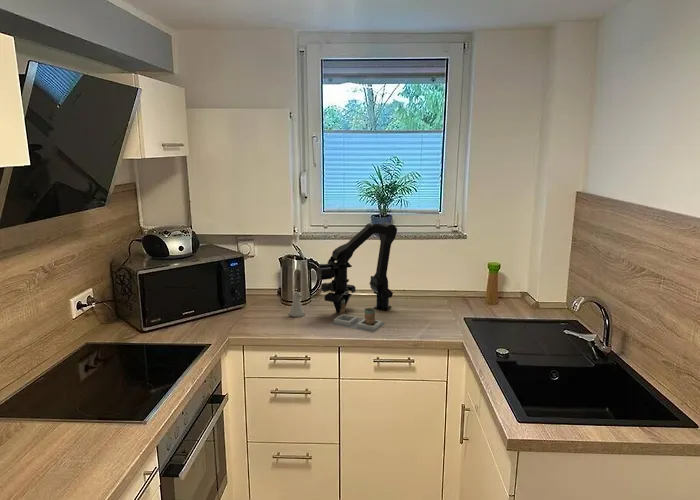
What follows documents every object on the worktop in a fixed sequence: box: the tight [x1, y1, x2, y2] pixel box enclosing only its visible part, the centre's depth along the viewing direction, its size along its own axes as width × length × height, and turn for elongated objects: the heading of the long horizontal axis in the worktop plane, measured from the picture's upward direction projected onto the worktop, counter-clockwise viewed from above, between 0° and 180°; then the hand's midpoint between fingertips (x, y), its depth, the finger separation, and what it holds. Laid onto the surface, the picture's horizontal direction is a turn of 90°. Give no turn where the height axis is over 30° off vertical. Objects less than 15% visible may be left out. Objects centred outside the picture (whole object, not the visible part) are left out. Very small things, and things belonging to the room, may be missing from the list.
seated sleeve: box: [364, 307, 376, 326], centre depth 208 cm, size 4×4×7 cm
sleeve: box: [335, 298, 346, 315], centre depth 224 cm, size 4×4×7 cm
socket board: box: [330, 313, 386, 333], centre depth 211 cm, size 12×20×3 cm, turn 63°
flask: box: [288, 291, 306, 318], centre depth 223 cm, size 7×7×10 cm
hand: (340, 311), depth 225 cm, fingers closed on sleeve, 4 cm apart
